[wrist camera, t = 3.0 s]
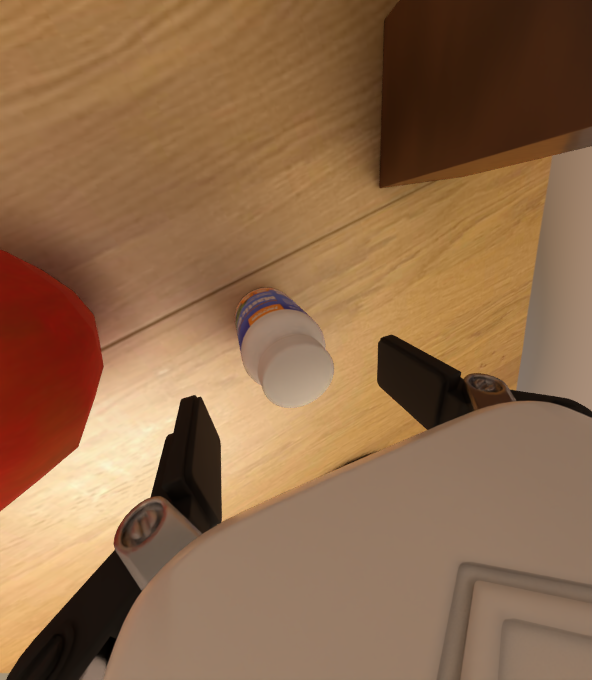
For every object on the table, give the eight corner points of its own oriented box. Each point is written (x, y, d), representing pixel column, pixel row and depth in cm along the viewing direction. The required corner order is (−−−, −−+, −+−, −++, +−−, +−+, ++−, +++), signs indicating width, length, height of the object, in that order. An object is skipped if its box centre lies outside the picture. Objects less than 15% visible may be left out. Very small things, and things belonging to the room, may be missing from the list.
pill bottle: (258, 273, 18) (293, 306, 10) (305, 309, 21) (365, 359, 12) (221, 325, 19) (223, 397, 10) (271, 354, 22) (304, 429, 13)
